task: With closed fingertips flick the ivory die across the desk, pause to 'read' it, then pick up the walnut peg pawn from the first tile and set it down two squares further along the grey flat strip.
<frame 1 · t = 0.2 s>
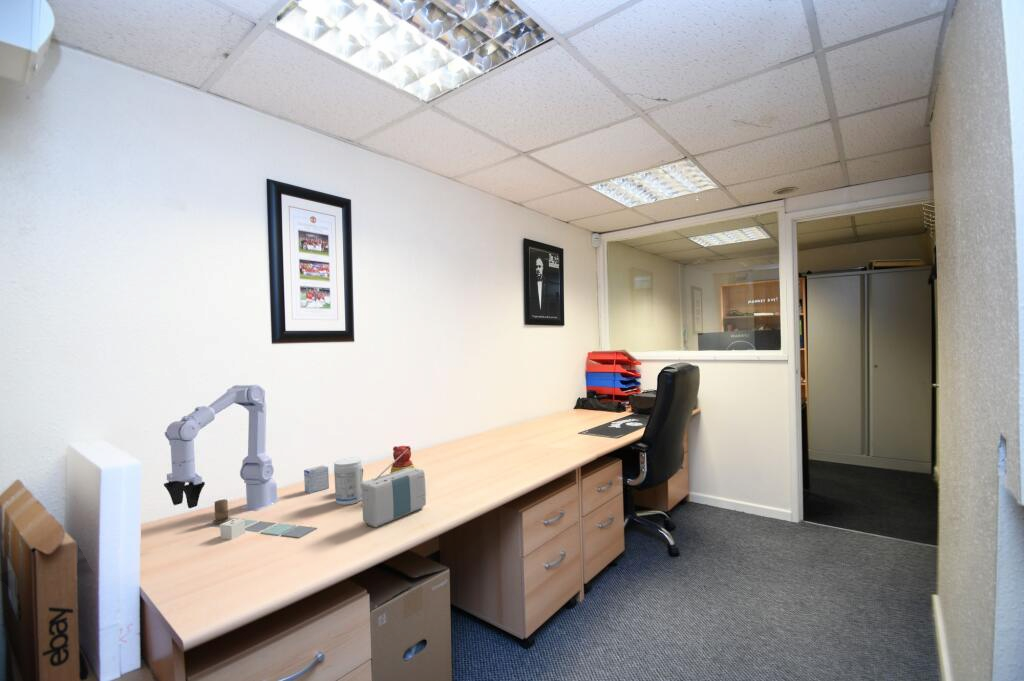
hand: (185, 505, 139), 10 cm above the table, fingers open, 7 cm apart
stacking bear: (403, 493, 173), on the table
medicine box: (317, 490, 181), on the table
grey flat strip: (221, 522, 151), on the table
pawn: (221, 522, 151), resting on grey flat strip
supplement tub: (349, 501, 167), on the table
die: (233, 537, 139), on the table
stereo radio cassette player: (395, 516, 150), on the table
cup: (354, 491, 178), on the table
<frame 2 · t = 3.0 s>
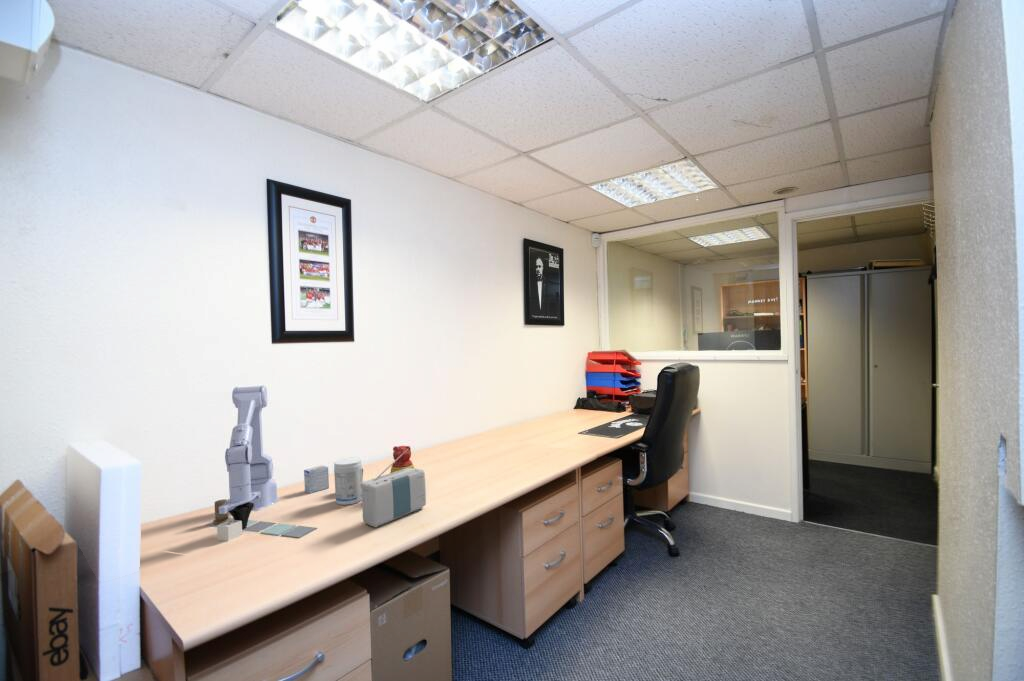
hand: (242, 528, 142), 1 cm above the table, fingers closed
die: (230, 537, 138), on the table, touching gripper
everything else where it was.
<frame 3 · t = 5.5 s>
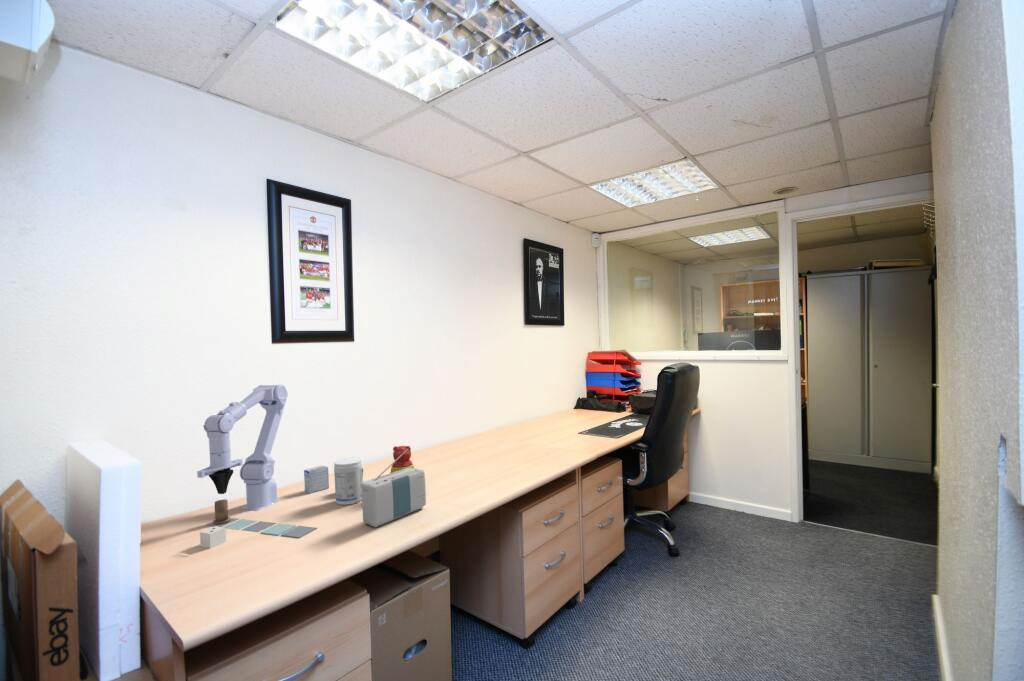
hand: (222, 493, 150), 10 cm above the table, fingers closed
die: (213, 545, 133), on the table
everything else where it was.
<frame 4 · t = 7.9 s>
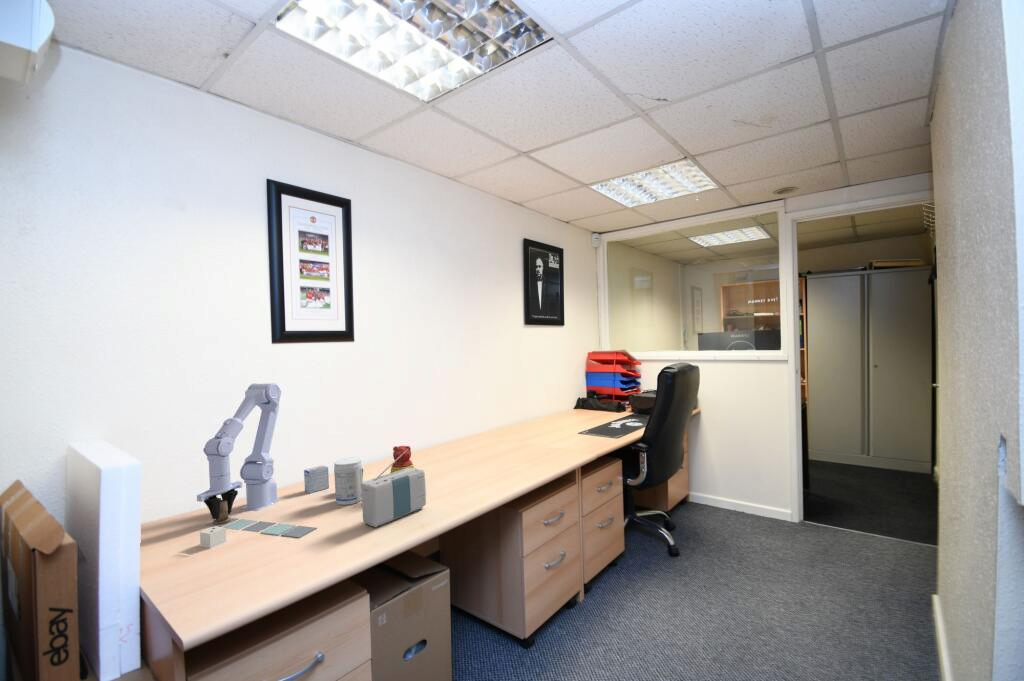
hand: (221, 516, 151), 2 cm above the table, fingers closed on pawn, 4 cm apart
pawn: (221, 522, 151), resting on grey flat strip, touching gripper
everything else where it was.
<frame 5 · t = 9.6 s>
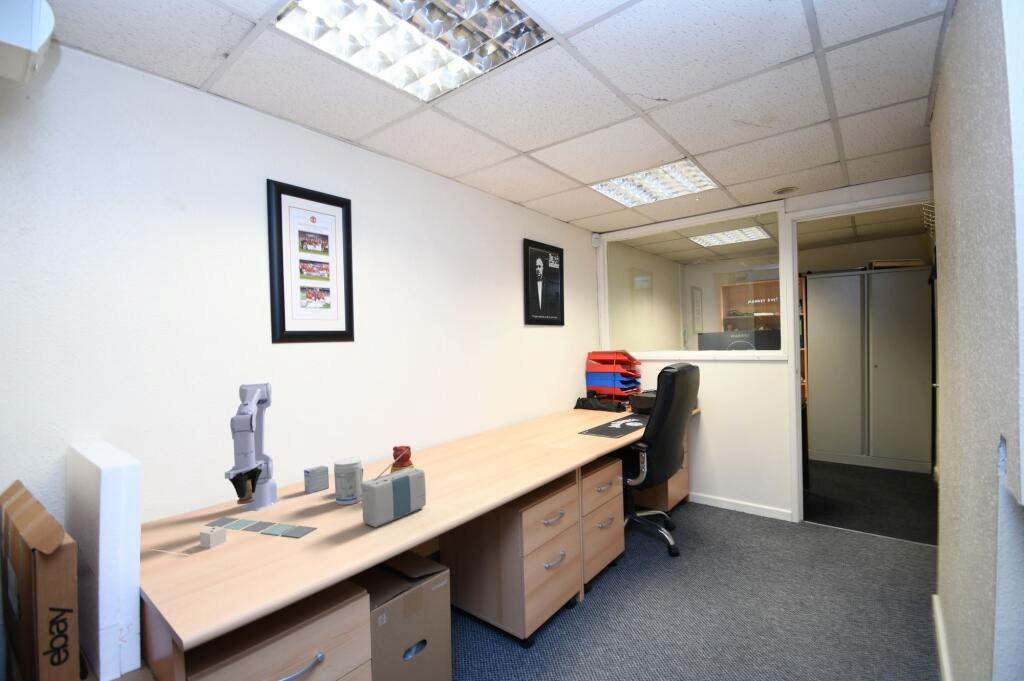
hand: (246, 494, 147), 10 cm above the table, fingers closed on pawn, 4 cm apart
pawn: (246, 501, 147), point 8 cm above the table, touching gripper
everything else where it was.
when the fingers open (3 cm above the table, at t = 11.5 s): pawn drops 1 cm, resting on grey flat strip.
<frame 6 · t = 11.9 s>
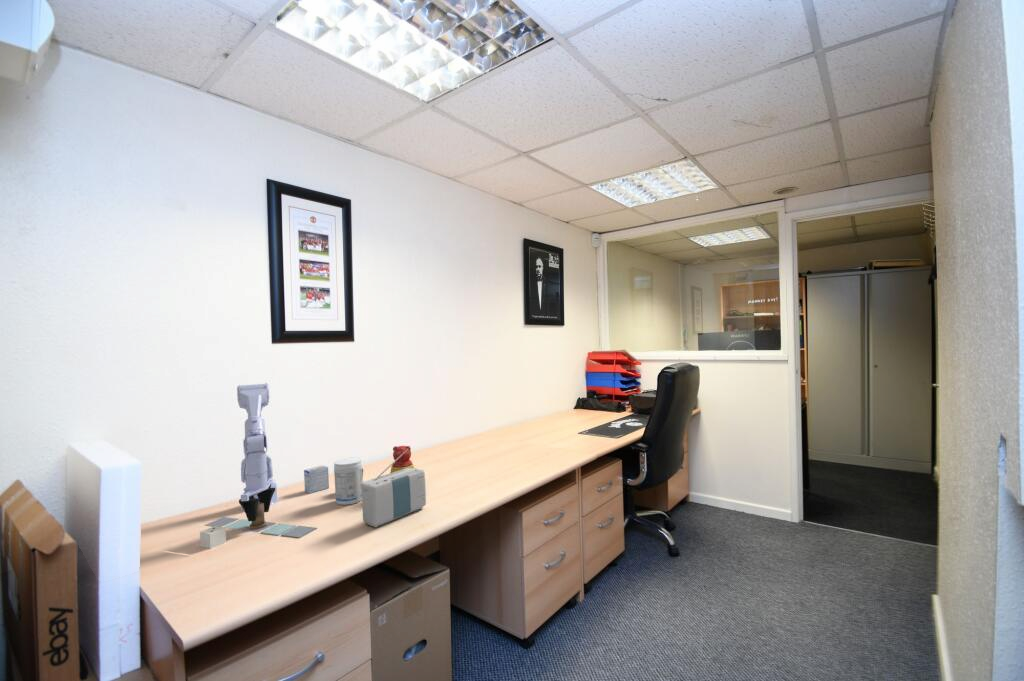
hand: (258, 516, 145), 4 cm above the table, fingers open, 7 cm apart
pawn: (258, 526, 145), resting on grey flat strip
everything else where it was.
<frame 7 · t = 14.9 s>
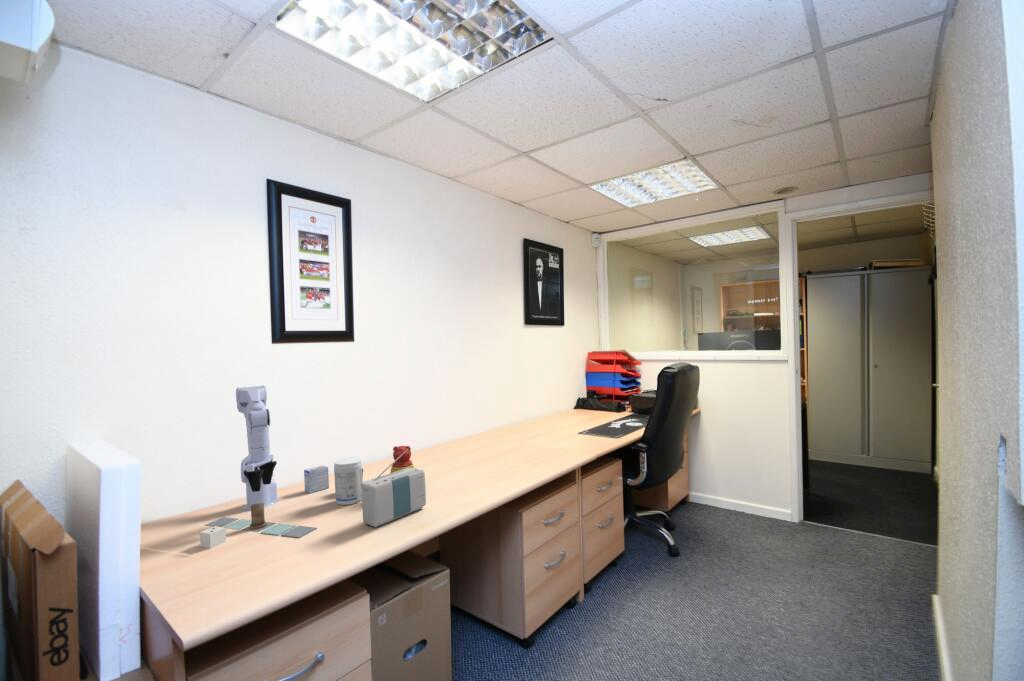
hand: (261, 487, 152), 10 cm above the table, fingers open, 7 cm apart
nothing on the table moved.
at the end: pawn inside the target area (0.3 cm from its centre), resting on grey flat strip; pawn tilted 0°; die moved 5.9 cm from its start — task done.
